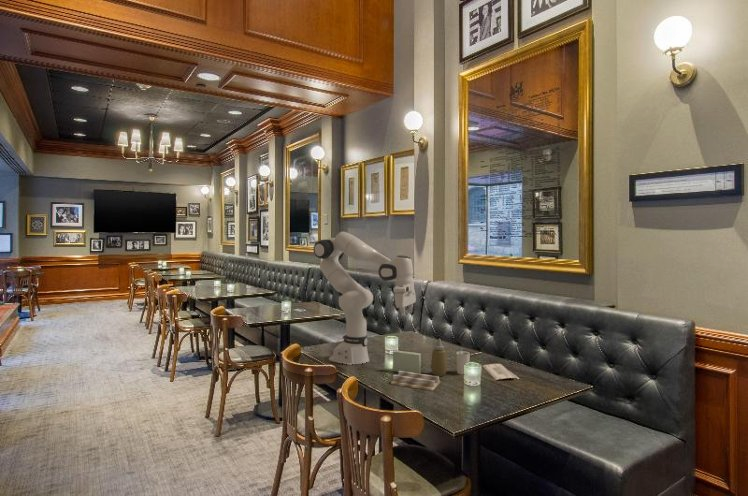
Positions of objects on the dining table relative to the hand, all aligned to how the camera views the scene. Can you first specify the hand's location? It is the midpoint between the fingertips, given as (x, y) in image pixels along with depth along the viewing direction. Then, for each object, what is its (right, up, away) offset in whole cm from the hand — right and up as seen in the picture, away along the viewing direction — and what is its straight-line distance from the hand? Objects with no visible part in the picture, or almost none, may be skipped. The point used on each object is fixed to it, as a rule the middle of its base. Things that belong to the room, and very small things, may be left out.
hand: (407, 314), depth 225 cm
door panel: (0, -29, -1) cm, 29 cm away
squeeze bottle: (+16, -30, -5) cm, 34 cm away
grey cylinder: (+28, -29, -2) cm, 41 cm away
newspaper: (+47, -30, -2) cm, 56 cm away
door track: (+3, -30, -18) cm, 35 cm away
